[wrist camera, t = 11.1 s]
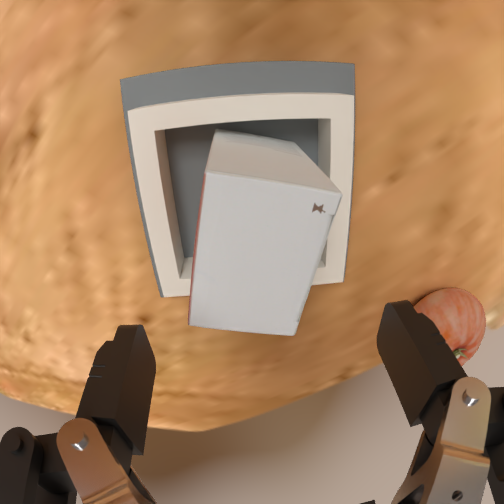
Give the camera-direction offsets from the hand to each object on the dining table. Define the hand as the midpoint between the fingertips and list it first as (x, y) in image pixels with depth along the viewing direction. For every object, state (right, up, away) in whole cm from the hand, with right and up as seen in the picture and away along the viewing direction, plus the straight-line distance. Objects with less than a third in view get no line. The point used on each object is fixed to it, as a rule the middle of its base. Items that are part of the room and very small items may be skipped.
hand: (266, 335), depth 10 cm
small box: (-1, +7, +13) cm, 15 cm away
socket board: (-1, +8, +14) cm, 16 cm away
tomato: (+20, -4, +23) cm, 30 cm away
